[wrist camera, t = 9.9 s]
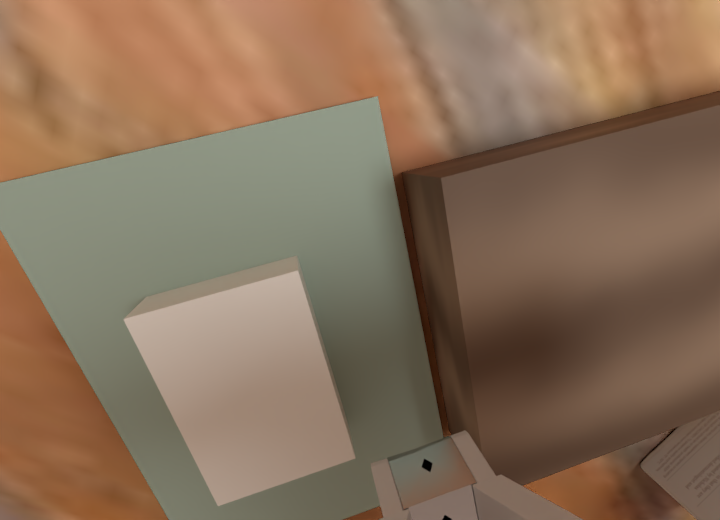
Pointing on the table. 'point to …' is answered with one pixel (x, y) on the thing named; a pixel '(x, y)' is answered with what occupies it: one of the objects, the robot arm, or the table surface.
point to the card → (245, 377)
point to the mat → (229, 255)
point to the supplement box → (690, 466)
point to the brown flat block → (575, 286)
